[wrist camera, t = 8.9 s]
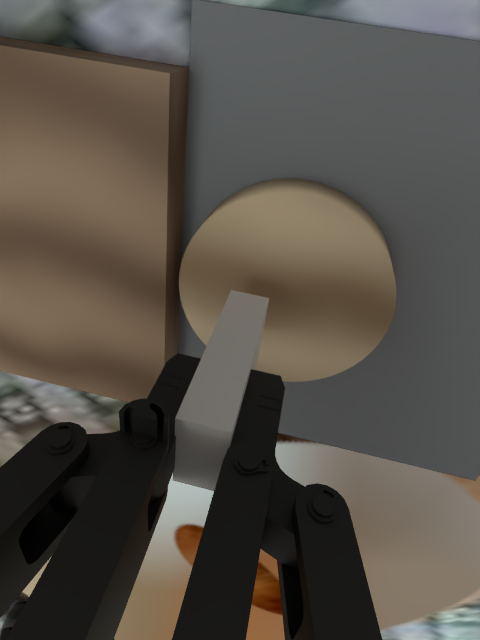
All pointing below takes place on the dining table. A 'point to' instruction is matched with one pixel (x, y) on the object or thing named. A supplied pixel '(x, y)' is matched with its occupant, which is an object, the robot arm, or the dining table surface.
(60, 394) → the dining table surface
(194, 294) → the coaster
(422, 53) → the mat
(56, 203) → the board
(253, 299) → the robot arm
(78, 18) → the dining table surface
